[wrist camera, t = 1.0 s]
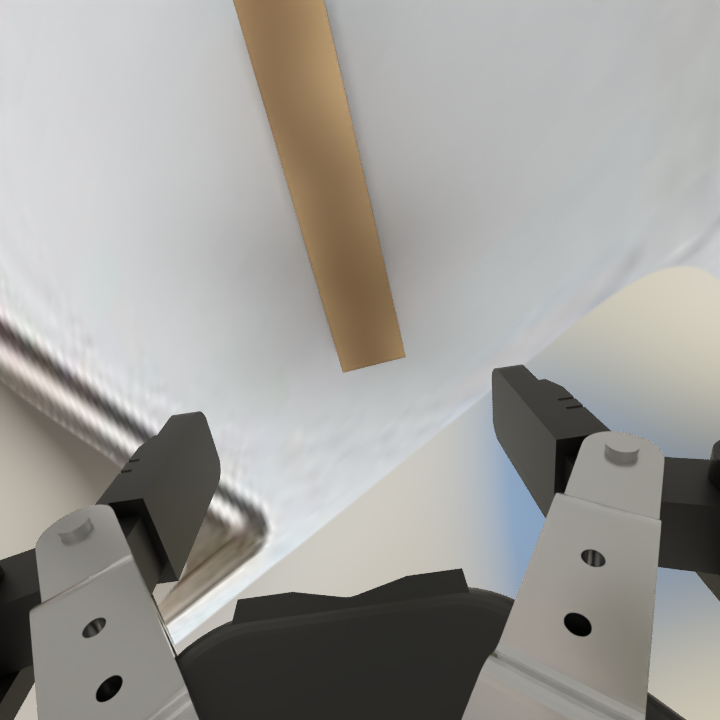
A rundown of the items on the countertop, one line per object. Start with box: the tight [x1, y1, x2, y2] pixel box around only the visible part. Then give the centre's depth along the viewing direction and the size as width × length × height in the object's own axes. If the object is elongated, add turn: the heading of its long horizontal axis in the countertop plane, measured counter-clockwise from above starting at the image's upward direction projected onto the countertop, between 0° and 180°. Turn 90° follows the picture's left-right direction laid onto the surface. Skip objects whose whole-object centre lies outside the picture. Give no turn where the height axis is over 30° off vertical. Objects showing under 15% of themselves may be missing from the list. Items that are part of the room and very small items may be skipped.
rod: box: [233, 0, 405, 373], centre depth 22 cm, size 4×17×4 cm, turn 14°
